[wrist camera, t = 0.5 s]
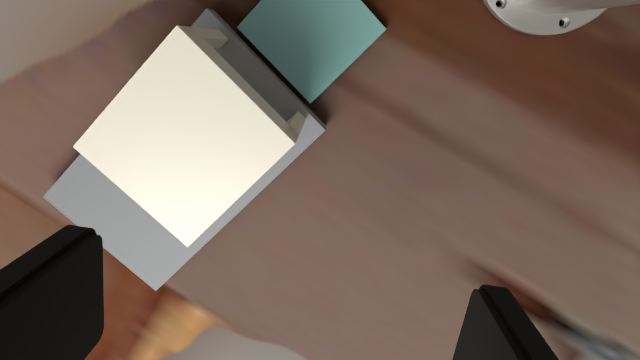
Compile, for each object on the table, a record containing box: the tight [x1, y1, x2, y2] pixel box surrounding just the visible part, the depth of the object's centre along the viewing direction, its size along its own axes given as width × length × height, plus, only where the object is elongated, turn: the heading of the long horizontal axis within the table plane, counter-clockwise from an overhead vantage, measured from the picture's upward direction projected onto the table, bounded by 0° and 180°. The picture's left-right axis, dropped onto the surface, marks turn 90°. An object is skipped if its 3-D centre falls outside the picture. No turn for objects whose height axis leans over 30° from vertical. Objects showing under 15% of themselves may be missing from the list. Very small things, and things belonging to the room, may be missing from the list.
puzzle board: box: [43, 8, 326, 291], centre depth 40 cm, size 24×14×2 cm, turn 134°
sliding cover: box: [73, 25, 306, 247], centre depth 33 cm, size 11×10×10 cm
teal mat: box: [237, 0, 386, 104], centre depth 36 cm, size 9×9×1 cm
